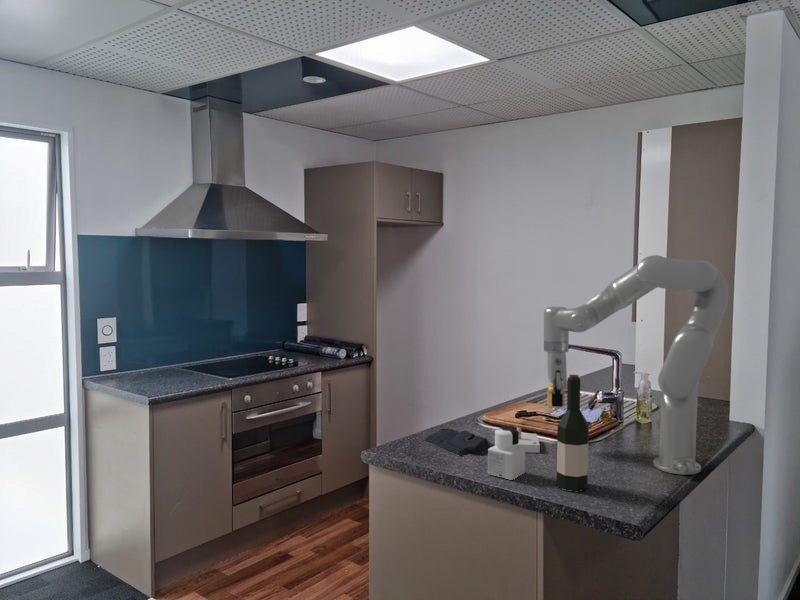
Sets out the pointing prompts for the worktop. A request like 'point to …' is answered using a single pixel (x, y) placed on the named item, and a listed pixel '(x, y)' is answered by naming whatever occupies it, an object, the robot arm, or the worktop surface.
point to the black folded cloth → (459, 442)
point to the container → (506, 455)
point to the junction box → (529, 442)
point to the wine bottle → (572, 442)
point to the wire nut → (550, 391)
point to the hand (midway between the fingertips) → (556, 403)
